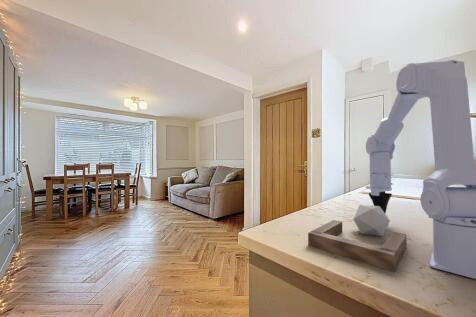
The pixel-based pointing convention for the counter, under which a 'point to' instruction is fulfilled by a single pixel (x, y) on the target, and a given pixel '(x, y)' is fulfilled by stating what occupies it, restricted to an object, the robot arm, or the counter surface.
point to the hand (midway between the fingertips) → (380, 215)
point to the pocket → (359, 246)
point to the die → (371, 220)
